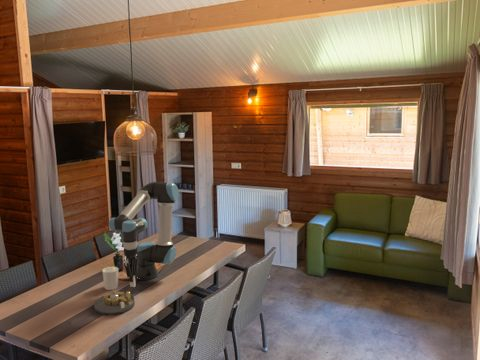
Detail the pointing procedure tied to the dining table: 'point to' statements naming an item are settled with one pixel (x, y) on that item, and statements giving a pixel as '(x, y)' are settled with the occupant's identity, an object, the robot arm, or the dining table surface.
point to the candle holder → (110, 278)
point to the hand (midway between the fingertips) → (132, 286)
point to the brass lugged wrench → (117, 300)
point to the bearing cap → (112, 306)
